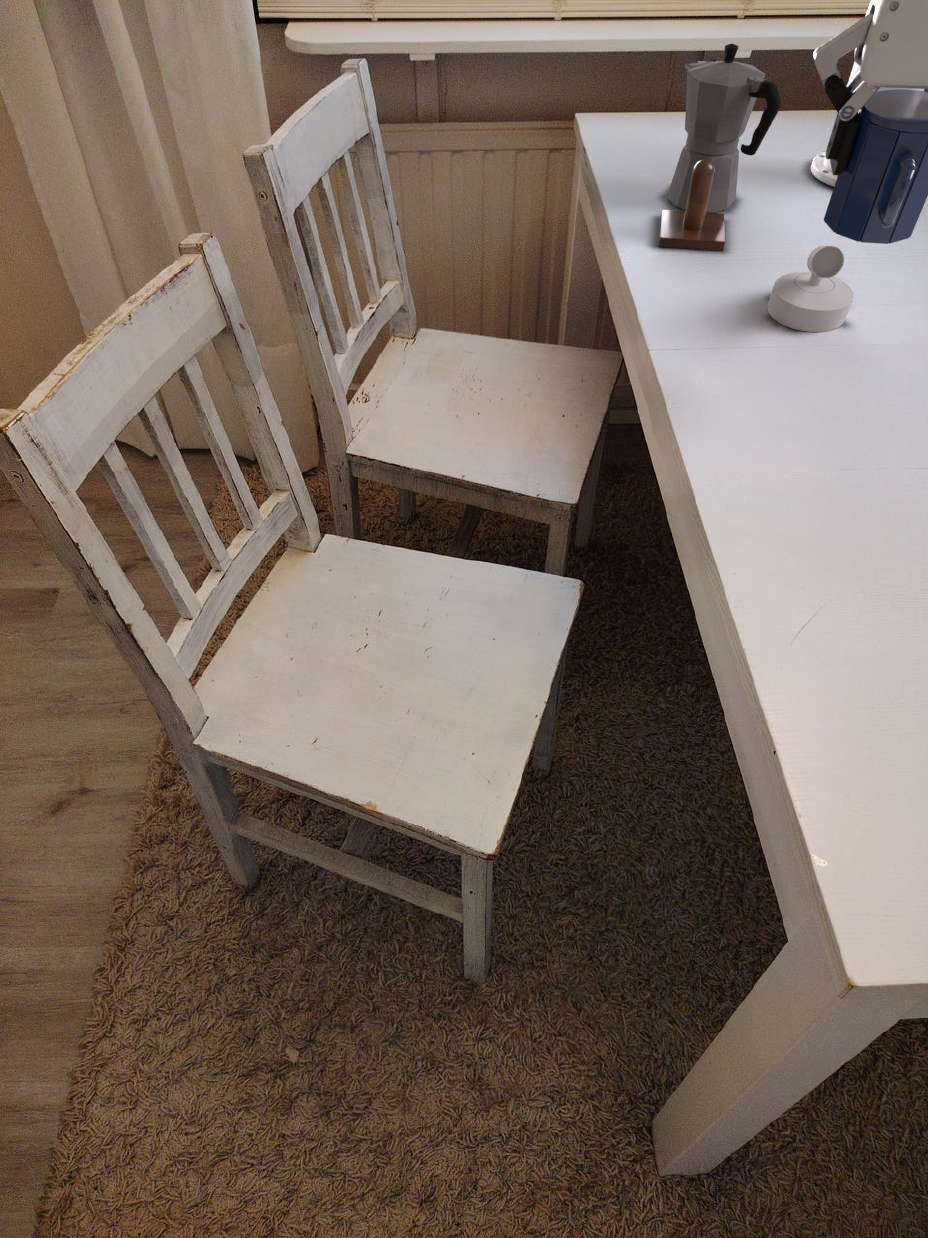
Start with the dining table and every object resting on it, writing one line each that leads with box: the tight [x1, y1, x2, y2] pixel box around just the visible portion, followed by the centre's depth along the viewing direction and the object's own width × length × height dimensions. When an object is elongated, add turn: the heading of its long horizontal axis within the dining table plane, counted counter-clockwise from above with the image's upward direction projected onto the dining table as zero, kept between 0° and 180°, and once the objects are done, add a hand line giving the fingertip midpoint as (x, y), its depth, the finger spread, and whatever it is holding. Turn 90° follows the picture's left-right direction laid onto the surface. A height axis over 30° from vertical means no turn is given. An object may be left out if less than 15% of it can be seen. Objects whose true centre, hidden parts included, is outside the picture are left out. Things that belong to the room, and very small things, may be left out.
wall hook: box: [767, 244, 855, 333], centre depth 87 cm, size 9×10×10 cm
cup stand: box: [658, 159, 726, 252], centre depth 100 cm, size 8×8×9 cm
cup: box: [823, 89, 928, 245], centre depth 64 cm, size 9×8×9 cm
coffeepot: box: [666, 43, 782, 213], centre depth 102 cm, size 15×9×18 cm, turn 36°
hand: (888, 169), depth 65 cm, fingers closed on cup, 7 cm apart
